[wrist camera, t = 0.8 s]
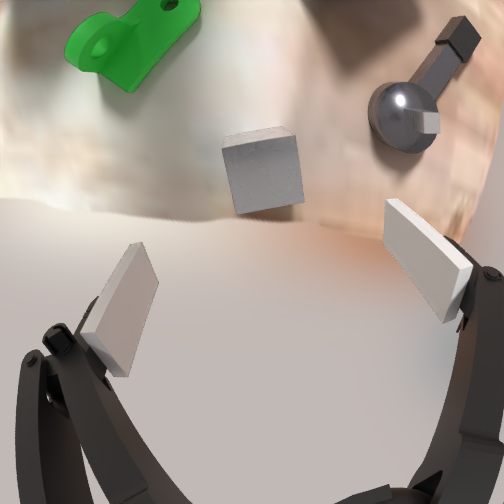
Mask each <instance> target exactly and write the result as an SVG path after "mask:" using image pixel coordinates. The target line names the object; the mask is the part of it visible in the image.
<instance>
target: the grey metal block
mask: <svg viewBox="0 0 504 504" xmlns="http://www.w3.org/2000/svg"><path fill="white" fill-rule="evenodd" d="M222 153H223V157H224V161H225V166H226V170H227V174H228V179H229V183H230V187H231V192H232V196H233V200H234V205H235V209H236V213H237V215H238V214H243V213H249V212H254V211H259V210H264V209H270V208H275V207H281V206H287V205H292V204H298V203H304V202H305V201H304V193H303V185H302V178H301V170H300V163H299V156H298V149H297V143H296V136H295V135H294V134H293V133H291V132H290V131H288V130H287V129H285V128H284V127H282V126H281V127H274V128H268V129H262V130H257V131H251V132H246V133H241V134H236V135H231V136H226V137H225V140H224V143H223V146H222Z"/></svg>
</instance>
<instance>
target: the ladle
mask: <svg viewBox="0 0 504 504" xmlns="http://www.w3.org/2000/svg"><path fill="white" fill-rule="evenodd" d="M480 40H481V37H480V35H479V34H478V32H477V31H476V30H475V28H474V27H473V26H472V24H471V23H470V22H469V20H468V19H467V18H466V16H458V17H452V18H451V20H450V21H449V22H448V24H447V25H446V27H445V28H444V29H443V31H442V32H441V33H440V35H439V36H438V37H437V39H436V40H435V41H436V42H437V44H436V45H435V47H434V48H433V50H432V51H431V52H430V54H429V55H428V56H427V58H426V59H425V60H424V62H423V63H422V64H421V66H420V67H419V68H418V70H417V71H416V72H415V74H414V75H413V76H412V78H411V79H410V80H409V82H390V83H386V84H383V85H381V86H380V87H379V88H377V89H376V90H375V92H374V93H373V95H372V96H371V99H370V102H369V106H368V117H369V122H370V125H371V128H372V130H373V132H374V133H375V135H376V136H377V137H378V138H379V139H380V140H381V141H382V142H383V143H385V144H387V145H389V146H391V147H393V148H396V149H398V150H400V151H403V152H405V153H413V154H414V153H419V152H422V151H424V150H425V149H427V148H428V147H429V146H430V145H431V144H432V143H433V141H434V140H435V138H436V135H437V134H440V114H439V113H438V109H437V106H436V103H435V99H436V98H437V97H438V95H439V94H440V92H441V91H442V89H443V88H444V87H445V85H446V84H447V82H448V81H449V79H450V78H451V76H452V75H453V73H454V72H455V70H456V69H457V67H458V66H459V64H460V63H466V62H467V61H468V59H469V58H470V56H471V55H472V53H473V51H474V50H475V48H476V47H477V45H478V43H479V42H480Z"/></svg>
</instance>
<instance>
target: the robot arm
mask: <svg viewBox="0 0 504 504" xmlns="http://www.w3.org/2000/svg"><path fill="white" fill-rule="evenodd" d="M383 245H384V246H385V247H386V248H387V250H388V251H389V252H390V253H391V255H392V256H393V257H394V258H395V260H396V261H397V262H398V263H399V265H400V266H401V267H402V269H403V270H404V271H405V272H406V274H407V275H408V276H409V278H410V279H411V280H412V282H413V283H414V284H415V286H416V287H417V288H418V290H419V291H420V292H421V294H422V295H423V297H424V298H425V299H426V301H427V302H428V304H429V305H430V306H431V308H432V309H433V311H434V312H435V313H436V315H437V316H438V318H439V320H440V321H441V322H442V323H446V322H448V321H451V320H453V319H455V318H456V316H457V313H458V311H459V308H460V309H461V310H462V312H463V313H464V314H463V317H462V320H461V322H460V324H459V326H458V329H457V331H456V332H457V333H458V332H459V330H460V333H459V340H458V346H457V352H456V357H455V362H454V367H453V371H452V376H451V380H450V384H449V388H448V392H447V396H446V399H445V403H444V406H443V409H442V413H441V416H440V419H439V422H438V425H437V428H436V431H435V434H434V436H433V439H432V442H431V444H430V447H429V449H428V452H427V454H426V457H425V459H424V461H423V463H422V464H421V466H420V467H419V468H418V470H417V471H416V473H415V474H414V476H413V478H412V480H411V481H410V483H409V485H408V487H407V488H390V486H389V484H387V485H384V486H381V487H378V488H375V489H372V490H369V491H366V492H362V493H358V494H355V495H352V496H350V497H348V498H346V499H344V500H341V501H339V502H337V503H335V504H488V503H489V500H490V498H491V495H492V492H493V489H494V486H495V483H496V480H497V477H498V474H499V471H500V467H501V464H502V459H503V456H504V444H503V443H502V442H500V441H499V432H500V427H501V422H502V417H503V410H504V276H503V275H502V273H501V272H500V271H498V270H497V269H495V268H493V267H489V266H484V267H481V266H480V265H479V264H478V263H477V262H476V261H475V260H474V259H473V258H472V257H471V256H470V255H469V254H468V253H467V252H465V250H464V249H463V248H461V247H460V246H459V245H458V244H457V243H456V242H455V241H454V240H452V239H450V238H448V237H446V236H442V235H441V234H440V233H439V232H437V231H436V230H435V229H434V228H433V227H432V226H430V225H429V224H428V223H427V222H426V221H425V220H423V219H422V218H421V217H420V216H419V215H417V214H416V213H415V212H414V211H412V210H411V209H410V208H409V207H407V206H406V205H405V204H404V203H402V202H401V201H400V200H399V199H397V198H395V199H387V200H385V218H384V236H383ZM158 284H159V282H158V280H157V277H156V275H155V273H154V270H153V268H152V265H151V263H150V260H149V258H148V255H147V253H146V250H145V248H144V246H143V243H142V242H139V243H135V244H130V246H129V247H128V249H127V250H126V252H125V253H124V255H123V257H122V258H121V260H120V262H119V263H118V265H117V267H116V268H115V270H114V271H113V273H112V275H111V276H110V278H109V280H108V282H107V283H106V285H105V287H104V289H103V290H102V292H101V294H100V296H97V297H96V298H95V299H94V300H93V301H92V302H91V304H90V305H89V307H88V309H87V311H86V313H85V314H84V316H83V319H82V320H81V322H80V324H79V325H78V327H77V329H76V331H75V333H74V335H72V333H71V332H70V330H69V329H68V328H67V326H66V325H65V324H63V323H58V324H56V325H54V326H52V327H51V328H50V329H48V331H47V332H46V333H45V334H44V336H43V340H42V342H43V344H44V345H45V346H46V348H47V349H48V350H49V351H50V353H51V354H52V355H49V356H46V357H44V355H43V354H42V353H41V352H40V350H32V351H31V352H29V353H27V354H26V355H25V357H24V359H23V361H22V364H21V370H20V378H19V385H18V395H17V406H16V428H15V446H16V447H15V450H16V471H17V482H18V489H19V498H20V504H94V502H93V499H92V496H91V492H90V488H89V484H88V480H87V475H86V471H85V466H84V461H83V456H82V451H81V446H82V448H83V451H84V453H85V455H86V458H87V460H88V462H89V464H90V467H91V468H92V471H93V473H94V475H95V477H96V479H97V481H98V483H99V485H100V486H101V488H102V490H103V492H104V494H105V496H106V498H107V499H108V501H109V503H110V504H192V503H191V502H190V501H189V500H188V499H187V498H186V497H185V496H184V494H183V493H182V492H181V491H180V490H179V488H178V487H177V486H176V485H175V484H174V482H173V481H172V480H171V479H170V477H169V476H168V475H167V474H166V472H165V471H164V469H163V468H162V467H161V465H160V464H159V463H158V461H157V460H156V458H155V457H154V456H153V454H152V453H151V451H150V450H149V448H148V447H147V445H146V444H145V442H144V441H143V439H142V438H141V436H140V435H139V433H138V432H137V430H136V429H135V427H134V425H133V423H132V422H131V420H130V418H129V417H128V415H127V413H126V411H125V410H124V408H123V406H122V404H121V403H120V401H119V400H118V397H117V395H116V394H115V392H114V390H113V388H112V386H111V384H110V382H109V380H108V379H107V378H106V377H105V373H106V370H107V369H108V370H109V372H110V373H111V374H112V375H113V376H114V377H129V373H130V370H131V366H132V363H133V360H134V356H135V353H136V350H137V346H138V343H139V340H140V337H141V333H142V330H143V328H144V325H145V321H146V318H147V315H148V313H149V310H150V307H151V304H152V301H153V298H154V295H155V292H156V289H157V287H158ZM47 396H48V397H49V401H48V399H47ZM503 504H504V503H503Z"/></svg>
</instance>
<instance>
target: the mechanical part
mask: <svg viewBox="0 0 504 504" xmlns="http://www.w3.org/2000/svg"><path fill="white" fill-rule="evenodd" d="M173 1H178V2H179V3H178V5H177V7H176V8H174V9H172V10H169V11H165V10H164V9H165V6H166V5H167V4H168V3H170V2H173ZM200 9H201V5H200V0H139V1H138V2H137V3H136V4H135V5H134V6H133V7H132V8H131V9H130V10H129V12H128V13H126V14H125V15H124V16H122V17H120V18H116V17H114V16H112V15H110V14H108V13H105V12H101V13H97V14H94V15H92V16H91V17H89V18H87V19H86V20H85V21H84V22H82V23H81V24H80V25H79V26H78V27H77V28H76V30H75V31H74V32H73V33H72V35H71V36H70V38H69V40H68V42H67V45H66V48H65V59H66V61H68V62H69V63H71V64H72V65H73V66H75V67H76V68H78V69H79V70H81V71H83V72H95V73H101V74H102V75H104V76H105V77H106V78H108V79H109V80H111V81H112V82H114V83H115V84H116V85H118V86H119V87H121V88H122V89H123V90H125V91H126V92H134V91H135V89H136V88H137V87H138V86H139V84H140V83H141V82H142V80H143V79H144V78H145V77H146V75H147V74H148V73H149V72H150V70H151V69H152V68H153V67H154V65H155V64H156V63H157V62H158V61H159V60H160V58H161V57H162V56H163V55H164V54H165V53H166V52H167V50H168V49H169V48H170V47H171V46H172V45H173V44H174V43H175V42H176V41H177V40H178V39H179V37H180V36H181V35H182V34H183V33H184V32H185V31H186V30H187V29H188V28H189V27H190V26H191V25H192V24H193V23H194V22H195V21H196V19H197V18H198V16H199V13H200Z"/></svg>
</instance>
